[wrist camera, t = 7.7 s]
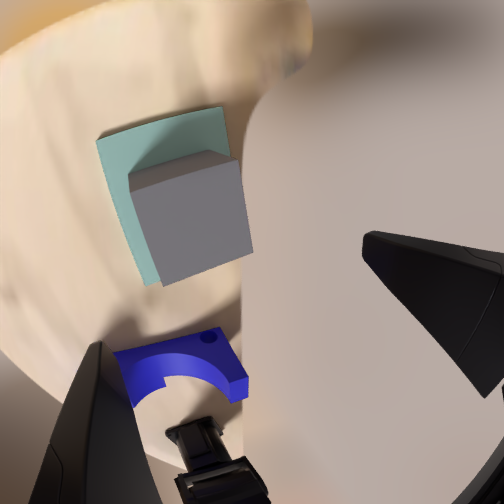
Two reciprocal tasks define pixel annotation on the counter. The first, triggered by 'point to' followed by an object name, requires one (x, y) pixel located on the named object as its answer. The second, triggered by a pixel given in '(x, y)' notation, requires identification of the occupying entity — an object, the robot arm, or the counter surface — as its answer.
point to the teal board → (152, 153)
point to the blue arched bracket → (184, 365)
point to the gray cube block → (191, 213)
